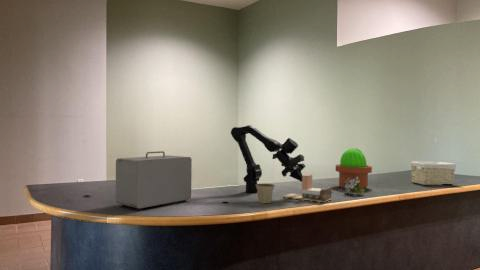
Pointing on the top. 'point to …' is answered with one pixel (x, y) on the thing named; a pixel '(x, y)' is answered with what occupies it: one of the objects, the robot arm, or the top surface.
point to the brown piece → (309, 188)
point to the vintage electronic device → (152, 180)
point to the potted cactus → (353, 168)
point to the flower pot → (265, 192)
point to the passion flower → (354, 186)
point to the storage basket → (432, 173)
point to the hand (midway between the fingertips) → (304, 181)
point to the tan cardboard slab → (323, 197)
